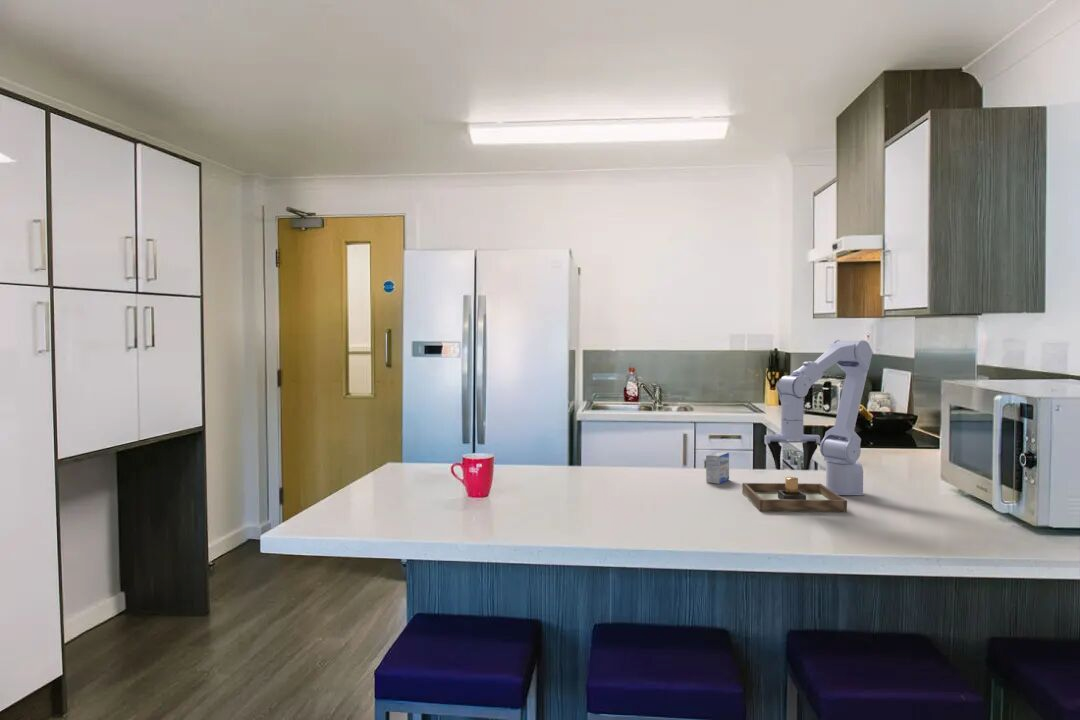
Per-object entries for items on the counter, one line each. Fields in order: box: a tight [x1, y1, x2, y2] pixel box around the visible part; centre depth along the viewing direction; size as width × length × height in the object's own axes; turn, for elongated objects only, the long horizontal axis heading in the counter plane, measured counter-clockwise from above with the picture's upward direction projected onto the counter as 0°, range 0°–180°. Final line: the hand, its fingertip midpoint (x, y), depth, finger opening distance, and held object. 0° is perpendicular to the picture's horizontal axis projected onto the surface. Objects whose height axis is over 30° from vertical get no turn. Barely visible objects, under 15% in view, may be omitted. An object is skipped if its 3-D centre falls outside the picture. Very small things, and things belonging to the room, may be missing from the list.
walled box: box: [741, 482, 848, 513], centre depth 189 cm, size 22×20×3 cm
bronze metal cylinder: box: [784, 476, 799, 495], centre depth 189 cm, size 3×3×6 cm
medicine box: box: [705, 451, 730, 485], centre depth 216 cm, size 8×4×9 cm, turn 143°
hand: (791, 468), depth 190 cm, fingers open, 7 cm apart
